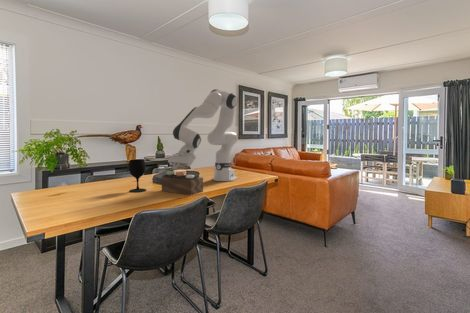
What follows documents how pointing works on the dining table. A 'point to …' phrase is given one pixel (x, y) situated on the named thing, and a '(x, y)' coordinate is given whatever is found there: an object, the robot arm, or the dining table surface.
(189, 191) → the dark brown wooden box
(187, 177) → the cream button
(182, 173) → the terracotta button
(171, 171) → the sage button
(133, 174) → the wine glass
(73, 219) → the dining table surface
